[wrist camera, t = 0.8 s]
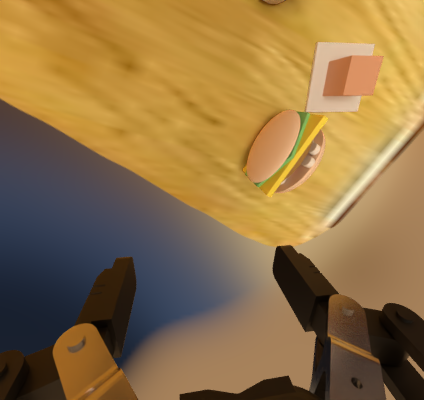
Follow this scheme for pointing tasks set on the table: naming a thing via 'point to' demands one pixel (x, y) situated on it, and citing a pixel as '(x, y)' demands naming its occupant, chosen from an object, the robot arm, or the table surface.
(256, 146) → the hamburger
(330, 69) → the block
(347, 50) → the pad
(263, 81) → the table surface
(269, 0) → the can
